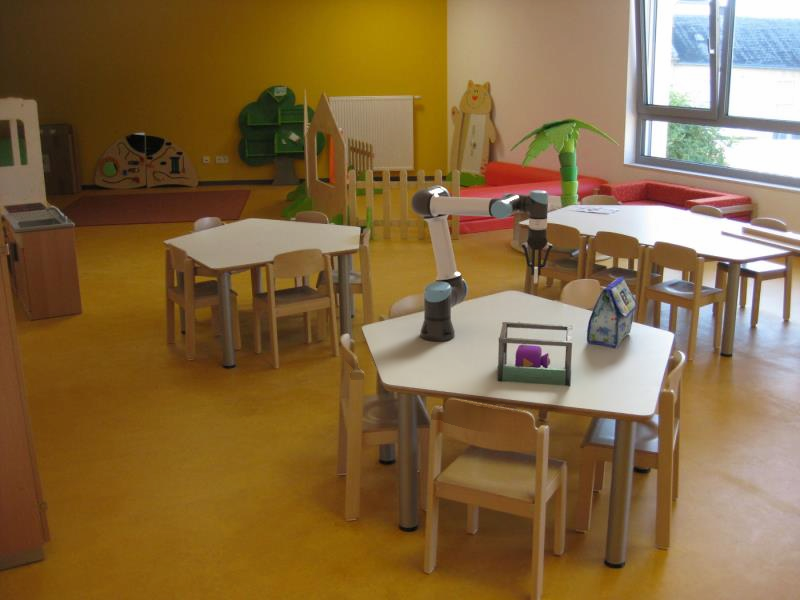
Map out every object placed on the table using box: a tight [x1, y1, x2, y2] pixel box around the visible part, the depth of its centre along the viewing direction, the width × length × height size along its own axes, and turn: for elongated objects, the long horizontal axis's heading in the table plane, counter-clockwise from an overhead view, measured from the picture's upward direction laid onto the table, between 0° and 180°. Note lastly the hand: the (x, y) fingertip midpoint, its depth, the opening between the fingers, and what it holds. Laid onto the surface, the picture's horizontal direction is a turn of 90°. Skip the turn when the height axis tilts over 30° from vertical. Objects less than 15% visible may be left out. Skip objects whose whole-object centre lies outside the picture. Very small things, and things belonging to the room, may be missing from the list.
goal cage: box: [496, 321, 573, 387], centre depth 332 cm, size 28×21×17 cm
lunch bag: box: [586, 276, 638, 349], centre depth 368 cm, size 22×17×26 cm
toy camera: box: [514, 344, 551, 368], centre depth 336 cm, size 11×14×10 cm
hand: (535, 282), depth 363 cm, fingers closed
